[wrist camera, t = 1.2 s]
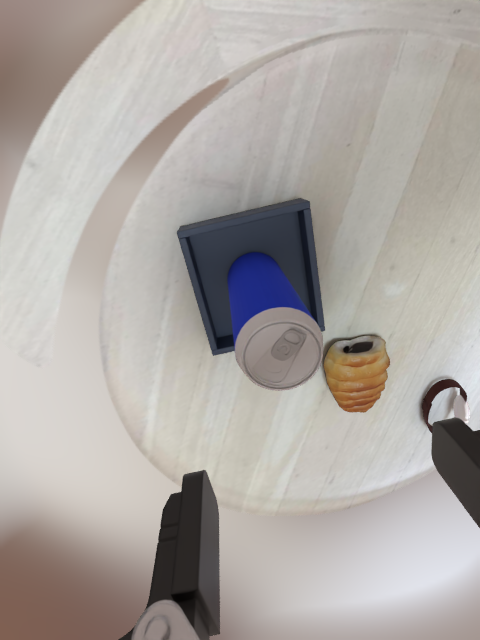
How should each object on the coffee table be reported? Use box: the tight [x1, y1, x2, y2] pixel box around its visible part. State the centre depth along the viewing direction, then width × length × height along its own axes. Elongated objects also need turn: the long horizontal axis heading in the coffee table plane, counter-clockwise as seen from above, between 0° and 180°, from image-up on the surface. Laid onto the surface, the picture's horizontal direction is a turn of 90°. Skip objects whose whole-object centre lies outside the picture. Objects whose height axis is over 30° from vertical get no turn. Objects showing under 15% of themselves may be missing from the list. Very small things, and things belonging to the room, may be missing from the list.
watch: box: [422, 379, 470, 433], centre depth 39 cm, size 8×5×4 cm, turn 5°
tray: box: [177, 198, 325, 356], centre depth 31 cm, size 12×11×3 cm
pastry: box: [324, 336, 390, 412], centre depth 36 cm, size 9×7×4 cm
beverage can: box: [228, 252, 323, 391], centre depth 25 cm, size 5×5×15 cm
